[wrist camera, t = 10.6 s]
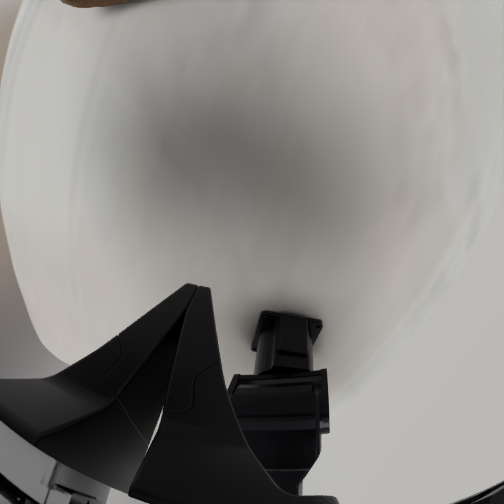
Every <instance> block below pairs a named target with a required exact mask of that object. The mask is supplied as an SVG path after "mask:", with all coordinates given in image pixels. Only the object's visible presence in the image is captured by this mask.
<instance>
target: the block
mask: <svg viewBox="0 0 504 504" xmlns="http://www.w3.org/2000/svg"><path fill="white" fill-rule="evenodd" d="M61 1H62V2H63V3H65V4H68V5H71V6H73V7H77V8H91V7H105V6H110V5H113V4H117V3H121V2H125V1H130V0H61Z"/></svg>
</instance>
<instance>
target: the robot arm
mask: <svg viewBox="0 0 504 504" xmlns="http://www.w3.org/2000/svg"><path fill="white" fill-rule="evenodd" d="M264 316H266V317H264ZM322 327H323V323H322V321H319V320H313V319H306V318H300V317H294V316H288V315H283V314H277V313H271V312H265V311H264V312H262V313H261V314H260V317H259V321H258V324H257V328H256V331H255V335H254V339H253V342H252V345H251V350H252V351H255V352H257V354H256V362H255V370H254V375H240V374H234V376H233V379H232V381H231V383H230V385H229V388H228V390H227V388H226V385H225V380H224V376H223V370H222V364H221V359H220V352H219V346H218V339H217V332H216V325H215V318H214V311H213V304H212V296H211V289H210V288H209V287H204V286H199V287H198V286H197V285H194V284H190V283H187V284H185V285H184V286H182V287H181V288H180V289H178V290H177V291H175V292H174V293H173V294H171V295H170V296H169V297H167V298H166V299H165V300H163V301H162V302H161V303H159V304H158V305H157V306H155V307H154V308H153V309H151V310H150V311H149V312H147V313H146V314H145V315H143V316H142V317H141V318H139V319H138V320H137V321H135V322H134V323H133V324H131V325H130V326H129V327H127V328H126V329H125V330H123V331H122V332H121V333H119V336H118V335H116V336H115V337H114V338H112V339H111V340H110V341H108V342H107V343H106V344H104V345H103V346H101V347H100V348H99V349H97V350H96V351H94V352H92V353H91V354H89V355H88V356H86V357H84V358H83V359H81V360H79V361H78V362H76V363H74V364H73V365H71V366H69V367H67V368H66V369H64V370H63V371H61V372H59V373H57V374H55V375H53V376H50V377H46V378H41V379H40V378H39V379H0V504H106V501H107V498H108V495H109V492H110V488H111V487H112V488H114V489H117V490H119V491H122V492H124V493H127V494H128V496H129V497H132V498H135V499H138V500H141V501H143V502H146V503H149V504H339V502H338V500H337V498H336V497H334V496H322V495H321V496H320V495H319V496H318V495H315V496H302V482H303V479H304V478H305V476H306V475H307V473H308V472H309V470H310V469H311V467H312V466H313V465H314V463H315V461H316V460H317V458H318V457H319V454H320V451H321V434H327V433H330V429H329V398H328V381H327V368H326V369H321V370H317V371H313V350H312V346H313V344H314V342H315V341H316V339H317V337H318V335H319V333H320V331H321V329H322ZM163 406H164V407H163ZM162 409H163V414H162V417H161V421H160V425H159V428H158V431H157V433H156V435H155V437H154V439H153V441H152V443H151V445H150V447H149V449H148V445H149V443H150V440H151V438H152V435H153V432H154V430H155V427H156V424H157V422H158V419H159V417H160V414H161V411H162ZM147 449H148V451H147ZM146 451H147V453H146ZM145 454H146V455H145ZM451 504H504V481H502V482H500V483H498V484H496V485H494V486H492V487H490V488H488V489H486V490H483V491H481V492H479V493H477V494H474V495H472V496H469V497H467V498H465V499H462V500H459V501H457V502H454V503H451Z"/></svg>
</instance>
